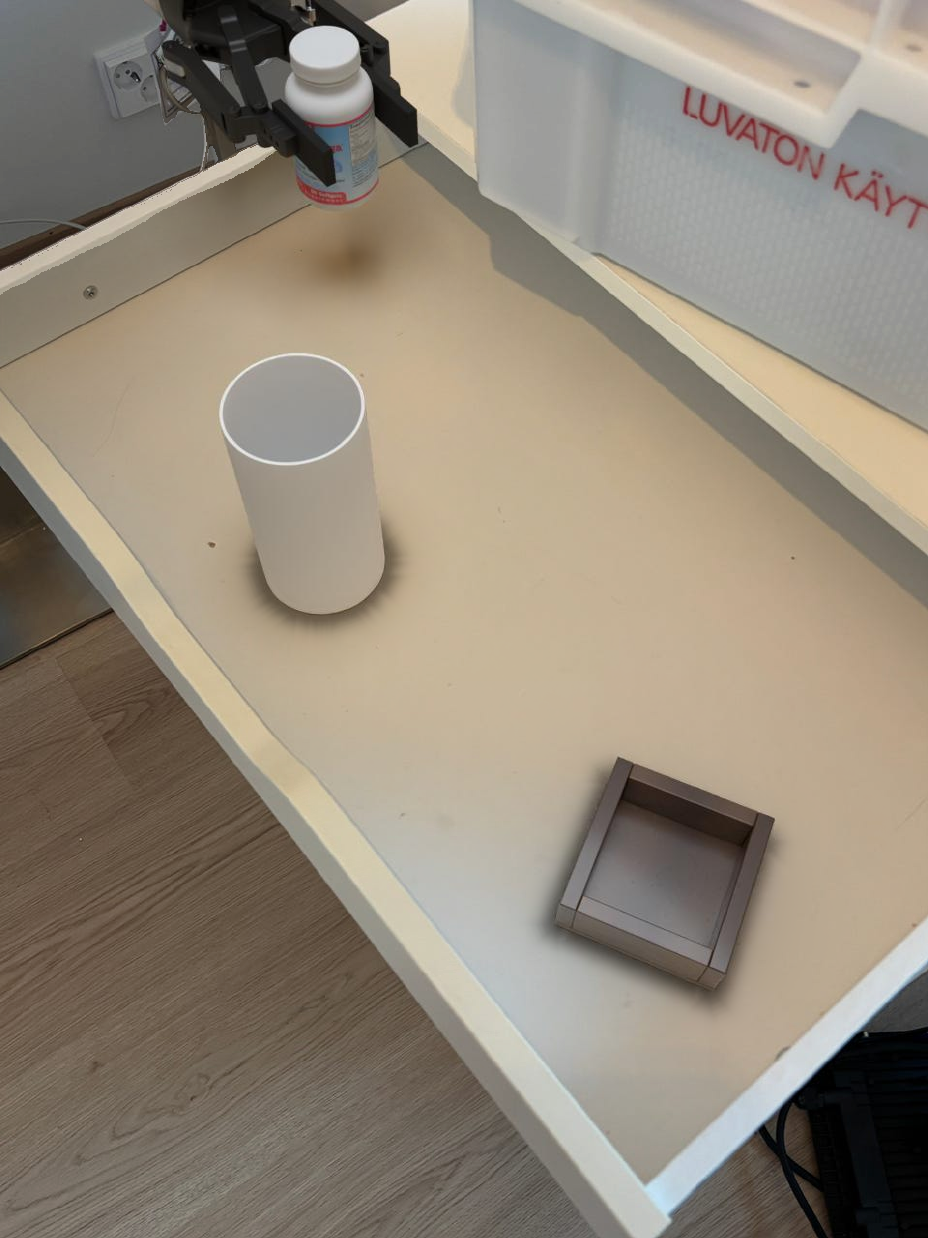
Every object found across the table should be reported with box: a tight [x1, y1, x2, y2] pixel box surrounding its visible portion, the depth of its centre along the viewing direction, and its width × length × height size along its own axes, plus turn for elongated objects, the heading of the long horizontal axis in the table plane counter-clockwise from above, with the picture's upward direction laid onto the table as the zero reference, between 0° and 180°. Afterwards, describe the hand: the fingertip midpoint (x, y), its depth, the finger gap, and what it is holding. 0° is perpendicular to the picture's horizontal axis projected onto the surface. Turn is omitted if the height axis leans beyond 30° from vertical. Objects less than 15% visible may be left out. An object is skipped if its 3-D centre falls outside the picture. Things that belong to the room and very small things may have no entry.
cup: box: [218, 352, 386, 615], centre depth 71 cm, size 8×8×16 cm
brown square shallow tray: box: [554, 756, 776, 992], centre depth 65 cm, size 9×9×4 cm
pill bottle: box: [284, 26, 380, 212], centre depth 80 cm, size 6×6×11 cm
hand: (371, 147), depth 77 cm, fingers closed on pill bottle, 6 cm apart
